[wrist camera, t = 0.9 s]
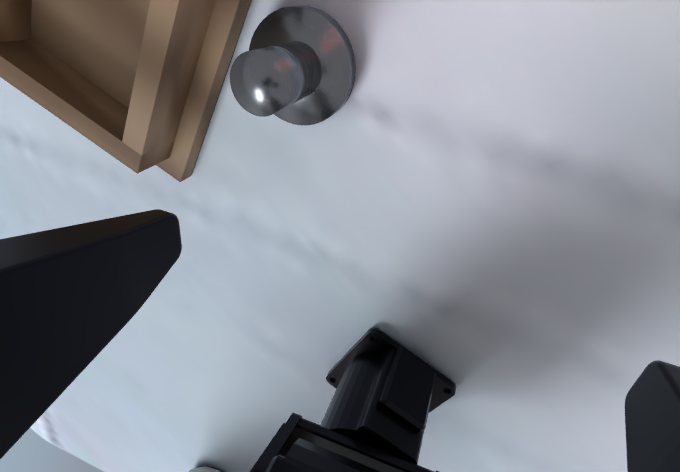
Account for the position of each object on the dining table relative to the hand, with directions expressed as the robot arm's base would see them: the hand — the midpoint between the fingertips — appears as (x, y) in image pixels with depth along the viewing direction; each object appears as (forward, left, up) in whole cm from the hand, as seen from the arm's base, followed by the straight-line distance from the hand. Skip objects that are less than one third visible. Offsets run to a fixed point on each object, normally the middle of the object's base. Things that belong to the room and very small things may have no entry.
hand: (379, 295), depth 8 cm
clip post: (-2, +7, -13) cm, 15 cm away
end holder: (-5, +17, -13) cm, 22 cm away
